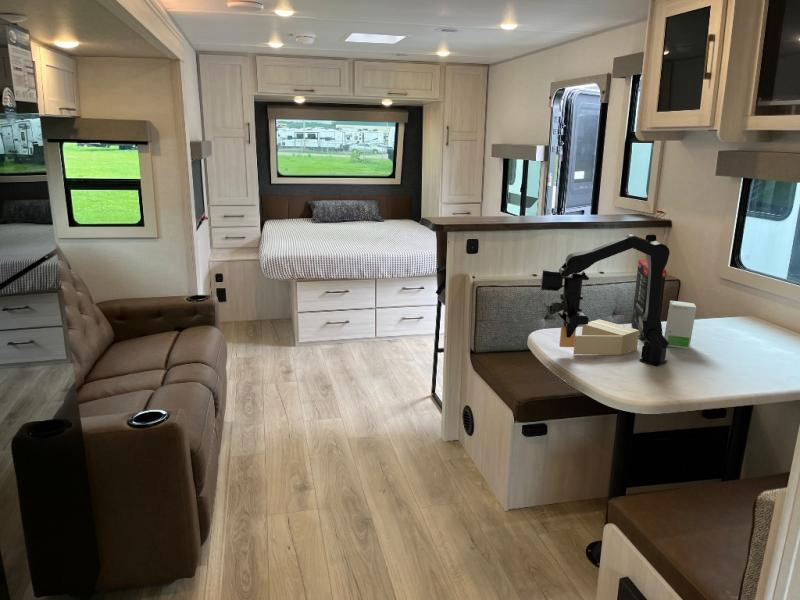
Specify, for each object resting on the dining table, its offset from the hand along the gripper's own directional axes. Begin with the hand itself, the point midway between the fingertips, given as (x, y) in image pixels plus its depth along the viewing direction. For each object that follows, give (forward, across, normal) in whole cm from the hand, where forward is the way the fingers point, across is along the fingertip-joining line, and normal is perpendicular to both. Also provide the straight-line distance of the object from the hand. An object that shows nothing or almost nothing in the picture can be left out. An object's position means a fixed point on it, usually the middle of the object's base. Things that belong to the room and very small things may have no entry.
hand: (567, 336), depth 199 cm
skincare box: (+7, -10, +44) cm, 45 cm away
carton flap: (+6, 0, +8) cm, 10 cm away
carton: (+7, -9, +18) cm, 22 cm away
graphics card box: (+7, -23, +37) cm, 44 cm away
